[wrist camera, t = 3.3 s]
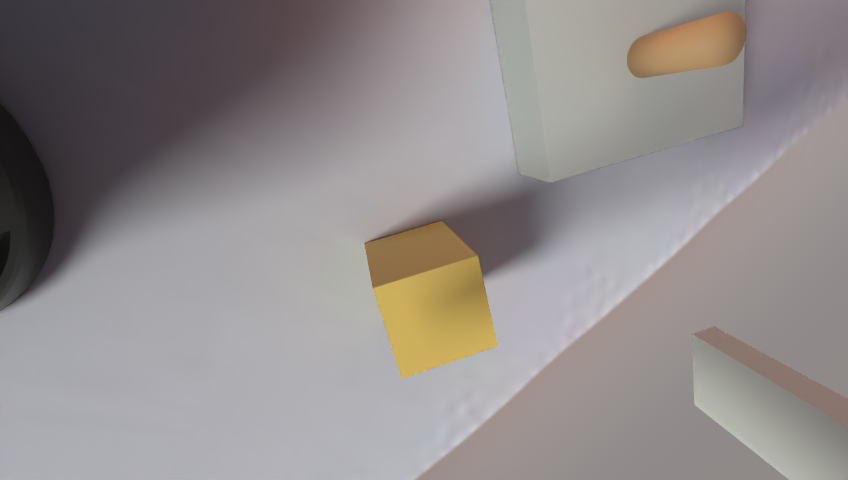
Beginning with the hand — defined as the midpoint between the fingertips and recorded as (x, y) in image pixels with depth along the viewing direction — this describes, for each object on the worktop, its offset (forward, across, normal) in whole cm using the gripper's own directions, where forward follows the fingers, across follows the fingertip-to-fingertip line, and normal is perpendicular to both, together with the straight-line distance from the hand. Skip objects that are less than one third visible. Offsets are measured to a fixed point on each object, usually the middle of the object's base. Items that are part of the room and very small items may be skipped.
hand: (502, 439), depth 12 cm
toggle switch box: (+14, +14, +9) cm, 22 cm away
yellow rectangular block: (+14, 0, 0) cm, 14 cm away
